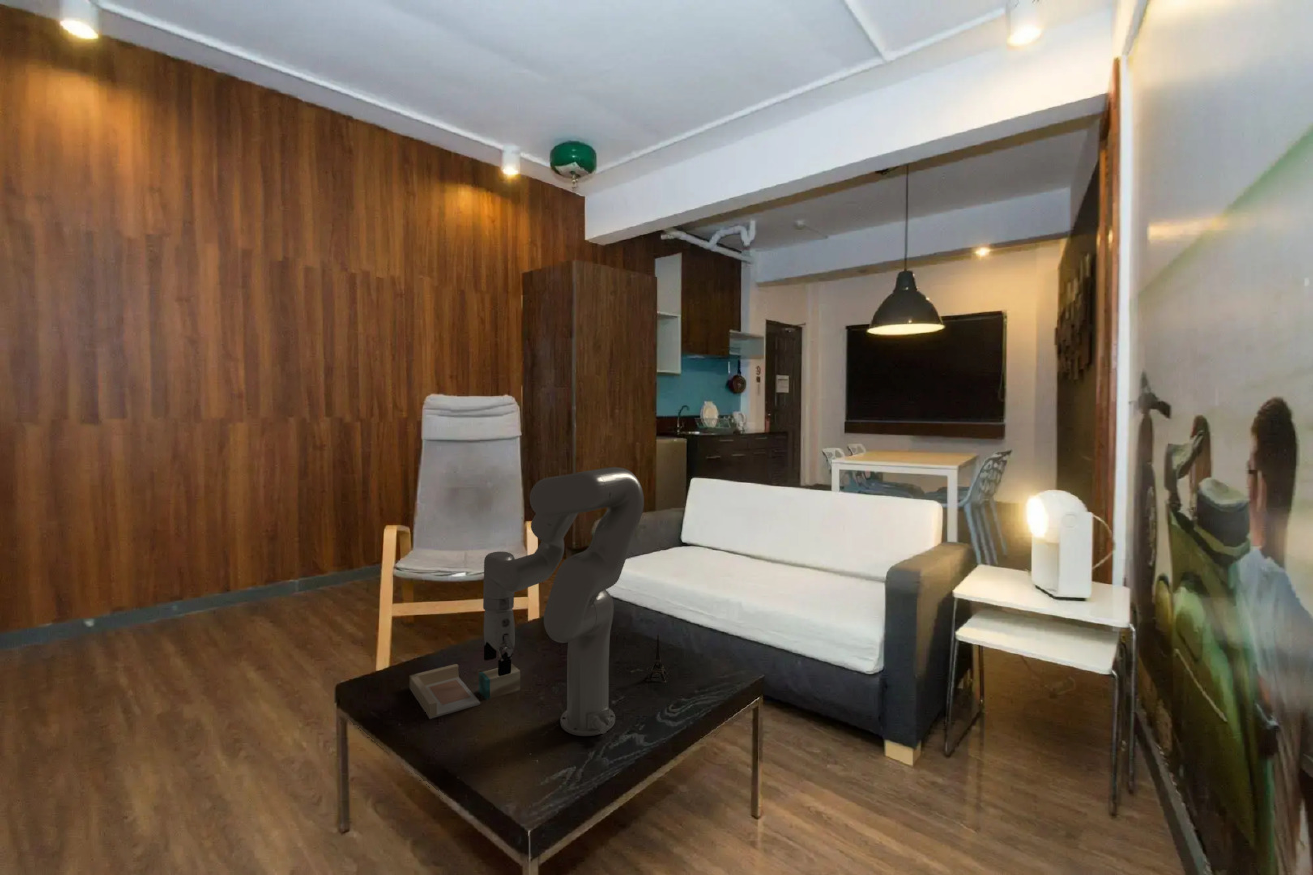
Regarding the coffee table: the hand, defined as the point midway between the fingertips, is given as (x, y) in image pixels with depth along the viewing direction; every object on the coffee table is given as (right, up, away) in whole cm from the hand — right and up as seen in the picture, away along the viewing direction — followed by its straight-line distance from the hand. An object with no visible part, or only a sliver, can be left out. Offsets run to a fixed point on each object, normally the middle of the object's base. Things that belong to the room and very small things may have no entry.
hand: (497, 666), depth 156 cm
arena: (-12, -6, -3) cm, 14 cm away
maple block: (+1, -6, 0) cm, 6 cm away
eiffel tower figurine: (+42, -7, +9) cm, 43 cm away
